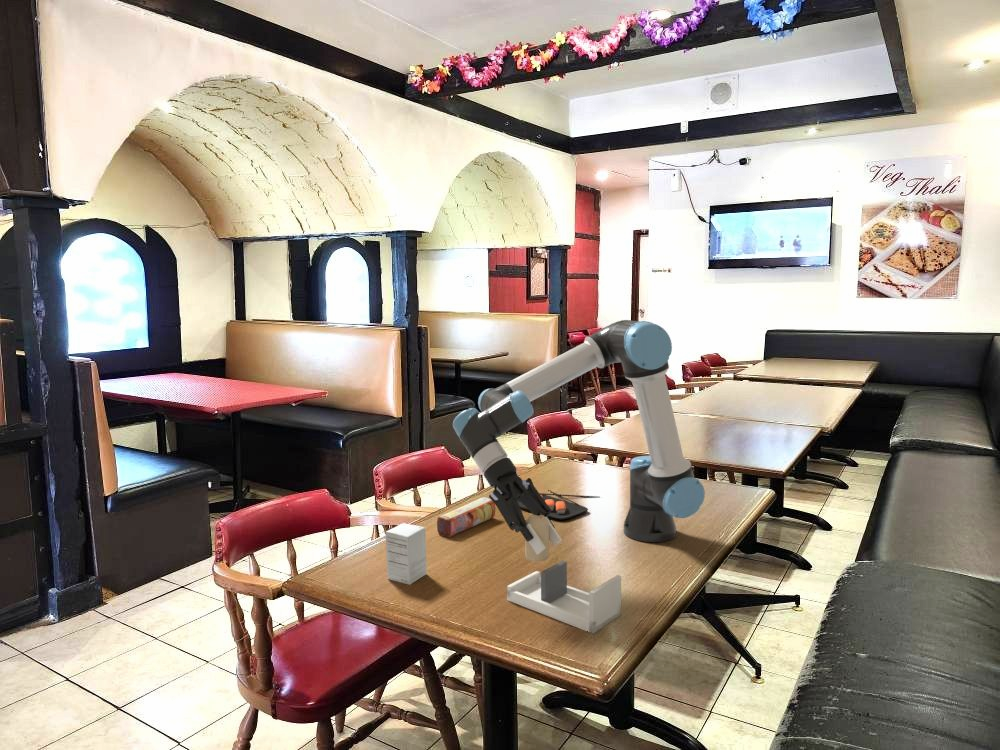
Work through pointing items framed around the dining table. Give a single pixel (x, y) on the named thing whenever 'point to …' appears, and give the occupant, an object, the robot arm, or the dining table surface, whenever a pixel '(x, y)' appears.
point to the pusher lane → (571, 602)
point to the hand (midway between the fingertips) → (549, 547)
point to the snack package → (466, 517)
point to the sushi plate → (561, 506)
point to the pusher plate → (554, 582)
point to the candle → (542, 531)
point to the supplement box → (406, 553)
